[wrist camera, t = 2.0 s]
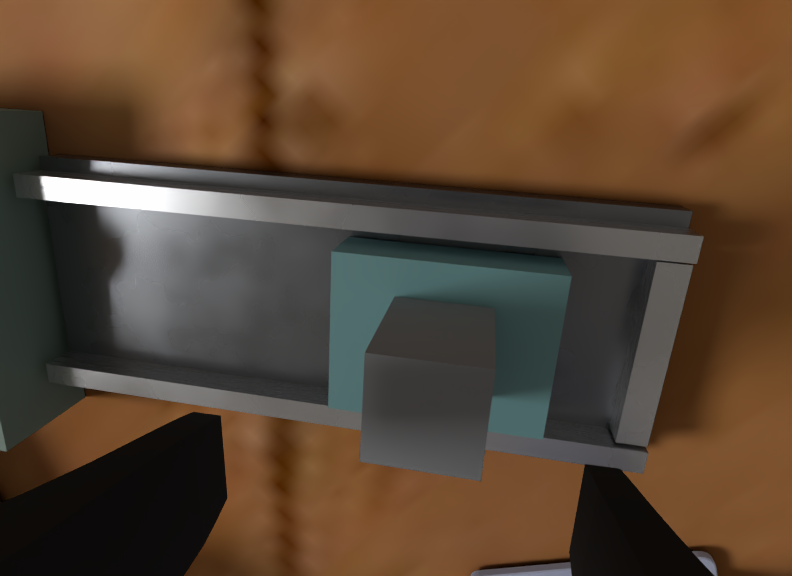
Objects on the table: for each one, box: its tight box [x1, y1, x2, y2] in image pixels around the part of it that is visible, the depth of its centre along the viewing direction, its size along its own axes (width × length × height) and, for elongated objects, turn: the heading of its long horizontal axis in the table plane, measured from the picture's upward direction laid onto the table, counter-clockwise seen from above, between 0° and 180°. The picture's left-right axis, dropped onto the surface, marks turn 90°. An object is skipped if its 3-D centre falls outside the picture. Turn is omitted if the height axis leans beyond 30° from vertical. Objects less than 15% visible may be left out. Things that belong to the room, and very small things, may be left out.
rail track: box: [13, 154, 704, 474], centre depth 19 cm, size 22×9×2 cm, turn 87°
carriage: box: [328, 237, 572, 481], centre depth 15 cm, size 7×5×6 cm
